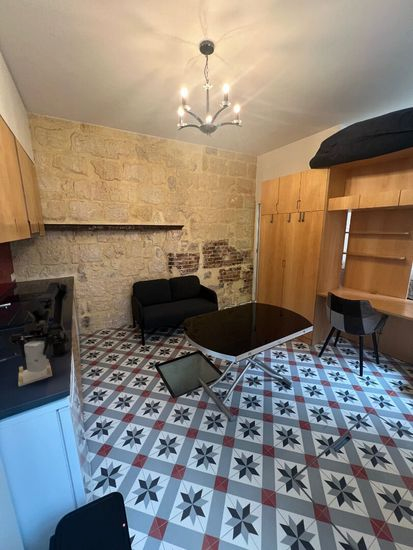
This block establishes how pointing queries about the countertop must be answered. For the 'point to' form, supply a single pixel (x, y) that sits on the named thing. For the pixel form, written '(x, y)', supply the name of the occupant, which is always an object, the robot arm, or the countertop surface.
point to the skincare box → (35, 356)
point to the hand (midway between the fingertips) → (34, 356)
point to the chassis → (33, 375)
